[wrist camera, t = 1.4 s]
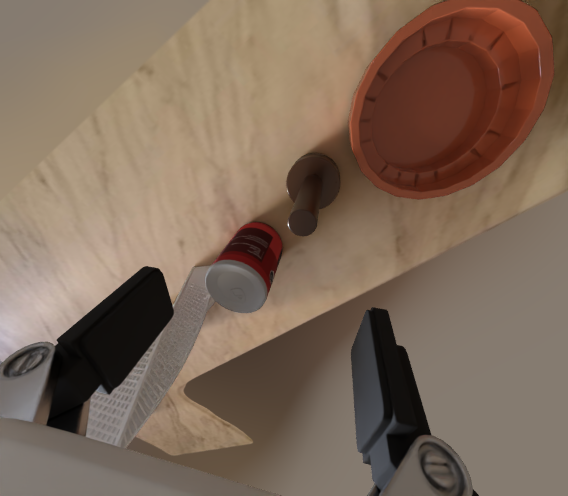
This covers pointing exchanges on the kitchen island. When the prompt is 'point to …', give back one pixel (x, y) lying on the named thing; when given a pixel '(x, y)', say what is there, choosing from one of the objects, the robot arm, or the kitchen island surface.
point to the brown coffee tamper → (311, 190)
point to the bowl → (451, 96)
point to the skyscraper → (152, 369)
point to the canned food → (245, 268)
